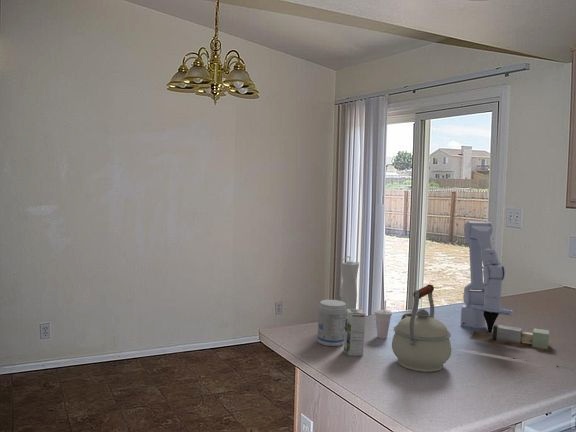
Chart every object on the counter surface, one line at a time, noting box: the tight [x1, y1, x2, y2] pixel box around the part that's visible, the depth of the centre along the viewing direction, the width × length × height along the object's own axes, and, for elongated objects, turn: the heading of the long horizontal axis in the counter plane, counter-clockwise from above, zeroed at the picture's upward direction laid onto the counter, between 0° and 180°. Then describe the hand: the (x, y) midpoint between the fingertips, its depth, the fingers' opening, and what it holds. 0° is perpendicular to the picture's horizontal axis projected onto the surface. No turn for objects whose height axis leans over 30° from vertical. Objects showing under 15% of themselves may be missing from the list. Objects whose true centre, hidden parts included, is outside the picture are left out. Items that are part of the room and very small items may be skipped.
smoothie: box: [374, 300, 393, 339], centre depth 188 cm, size 6×6×14 cm
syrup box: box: [343, 308, 366, 357], centre depth 168 cm, size 6×6×14 cm
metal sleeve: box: [497, 324, 523, 344], centre depth 186 cm, size 8×5×5 cm, turn 61°
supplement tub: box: [317, 299, 346, 347], centre depth 178 cm, size 10×10×15 cm
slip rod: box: [492, 324, 533, 343], centre depth 185 cm, size 16×4×4 cm, turn 61°
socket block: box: [532, 327, 550, 349], centre depth 181 cm, size 5×6×5 cm
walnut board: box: [469, 330, 552, 353], centre depth 186 cm, size 27×12×1 cm, turn 61°
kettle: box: [391, 284, 452, 373], centre depth 160 cm, size 25×18×25 cm
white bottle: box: [339, 256, 360, 319], centre depth 201 cm, size 8×8×28 cm
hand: (490, 331), depth 189 cm, fingers closed
